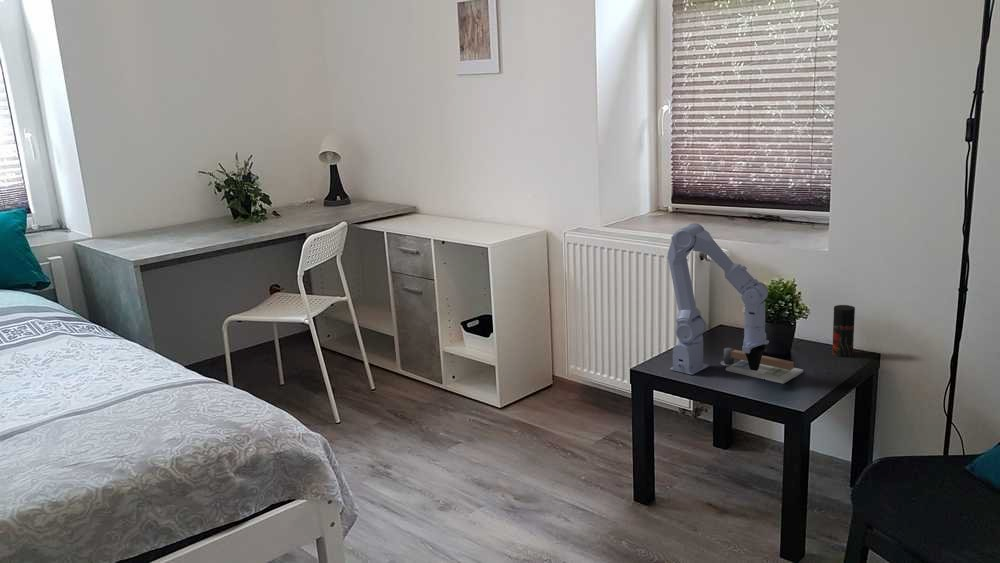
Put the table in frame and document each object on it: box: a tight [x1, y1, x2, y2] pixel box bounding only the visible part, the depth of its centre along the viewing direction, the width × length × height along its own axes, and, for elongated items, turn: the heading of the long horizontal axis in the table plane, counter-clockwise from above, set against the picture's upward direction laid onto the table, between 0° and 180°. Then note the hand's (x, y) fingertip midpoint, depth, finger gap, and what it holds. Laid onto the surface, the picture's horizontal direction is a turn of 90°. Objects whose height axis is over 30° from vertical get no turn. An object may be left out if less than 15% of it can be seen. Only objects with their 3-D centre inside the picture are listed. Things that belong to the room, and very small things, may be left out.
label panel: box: [720, 359, 804, 384], centre depth 245 cm, size 12×24×1 cm, turn 44°
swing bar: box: [723, 347, 795, 370], centre depth 245 cm, size 22×3×4 cm, turn 44°
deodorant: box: [831, 304, 856, 358], centre depth 253 cm, size 6×6×15 cm
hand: (754, 369), depth 239 cm, fingers closed
